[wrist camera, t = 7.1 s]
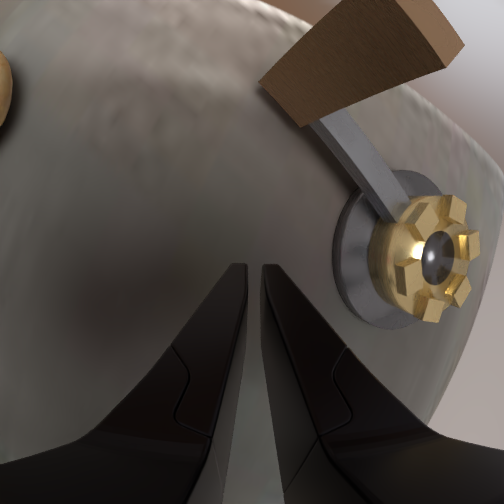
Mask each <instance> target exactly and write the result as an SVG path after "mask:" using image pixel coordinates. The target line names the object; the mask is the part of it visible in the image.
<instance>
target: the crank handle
mask: <svg viewBox="0 0 504 504" xmlns="http://www.w3.org/2000/svg"><path fill="white" fill-rule="evenodd" d="M464 46H465V45H464V43H463V42H462V40H461V39H460V37H459V36H458V34H457V33H456V31H455V30H454V29H453V27H452V26H451V24H450V23H449V22H448V20H447V19H446V17H445V16H444V15H443V13H442V12H441V11H440V9H439V8H438V7H437V5H436V4H435V3H434V2H433V1H432V0H342V1H341V2H340V3H339V4H338V5H336V6H335V7H334V8H333V9H332V10H331V11H330V12H329V13H328V14H326V15H325V16H324V17H323V18H322V19H321V20H320V21H319V22H318V23H317V24H316V25H314V26H313V27H312V28H311V29H310V30H309V31H308V32H307V33H306V34H305V35H304V36H303V37H302V38H301V39H300V40H299V41H298V42H297V43H296V44H295V45H294V46H293V47H292V48H291V49H290V50H289V51H288V52H287V53H286V54H285V55H284V56H283V57H282V58H281V59H280V60H279V61H278V62H277V63H276V64H275V65H274V66H273V67H272V68H271V69H270V70H269V71H268V72H267V73H266V74H265V75H264V76H263V78H262V79H261V80H260V81H259V83H260V84H261V85H262V87H263V88H264V89H265V90H266V91H267V92H268V93H269V94H270V95H271V96H272V97H273V98H274V99H275V100H276V101H277V102H278V104H279V105H280V106H281V107H282V108H283V109H284V110H285V111H286V112H287V113H288V115H289V116H290V117H291V118H292V119H293V120H294V121H295V122H296V124H297V125H298V126H299V127H300V128H301V127H304V126H306V125H308V124H309V125H310V126H311V128H312V129H313V130H314V131H315V132H316V134H317V135H318V136H319V137H320V138H321V139H322V141H323V142H324V143H325V144H326V146H327V147H328V148H329V149H330V150H331V152H332V153H333V154H334V155H335V157H336V158H337V159H338V160H339V162H340V163H341V164H342V166H343V167H344V168H345V169H346V171H347V172H348V173H349V175H350V176H351V177H352V178H353V180H354V181H355V182H356V184H357V185H358V186H359V188H360V189H361V190H362V192H363V193H364V195H365V196H366V197H367V199H368V200H369V201H370V203H371V204H372V206H373V207H374V208H375V210H376V211H377V213H378V214H379V215H380V217H379V219H378V221H377V223H376V225H375V228H374V230H373V233H372V236H371V240H370V245H369V254H368V265H369V273H370V278H371V281H372V284H373V287H374V289H375V291H376V292H377V294H378V295H379V297H380V298H381V299H382V300H383V301H385V302H386V303H387V304H389V305H391V306H393V307H396V308H398V309H400V310H403V311H405V312H407V313H410V314H412V315H413V317H416V318H418V319H420V320H423V321H430V322H436V323H438V322H439V319H440V316H441V313H442V311H444V310H445V309H446V308H447V307H448V306H449V305H450V304H451V305H453V306H455V307H458V308H460V307H461V305H462V304H463V302H464V301H465V299H466V297H467V296H468V294H469V292H470V291H471V289H472V288H471V286H470V283H469V281H468V279H467V276H466V274H467V270H468V265H469V261H471V260H472V259H474V258H476V257H477V256H479V255H480V246H479V231H477V230H468V226H467V222H466V220H465V213H466V207H467V204H466V203H464V202H463V201H461V200H460V199H458V198H457V197H455V196H454V195H443V196H407V195H406V193H405V192H404V190H403V188H402V187H401V185H400V184H399V182H398V181H397V179H396V178H395V176H394V175H393V173H392V172H391V170H390V169H389V167H388V166H387V164H386V163H385V161H384V160H383V159H382V157H381V156H380V154H379V153H378V152H377V150H376V149H375V147H374V146H373V145H372V143H371V142H370V140H369V139H368V138H367V136H366V135H365V134H364V132H363V131H362V130H361V128H360V127H359V126H358V125H357V123H356V122H355V121H354V119H353V118H352V117H351V116H350V114H349V113H348V112H347V111H346V109H345V107H347V106H350V105H352V104H354V103H356V102H359V101H361V100H363V99H366V98H368V97H371V96H373V95H375V94H378V93H380V92H383V91H385V90H388V89H390V88H393V87H395V86H398V85H400V84H403V83H406V82H408V81H411V80H414V79H416V78H419V77H421V76H424V75H427V74H430V73H432V72H435V71H438V70H441V69H444V68H446V67H447V66H448V65H449V64H450V63H451V61H452V60H453V59H454V58H455V57H456V55H457V54H458V53H459V52H460V51H461V49H462V48H463V47H464Z"/></svg>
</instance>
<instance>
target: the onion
mask: <svg viewBox="0 0 504 504" xmlns="http://www.w3.org/2000/svg"><path fill="white" fill-rule="evenodd" d="M12 86H13V80H12V74H11V69H10V65H9V63H8V61H7V59H6V57H5V56H4V55H3V53H2V52H1V51H0V126H1V125H3V122H4V121H5V117H6V115H7V112H8V109H9V107H10V104H11V103H10V102H11V96H12Z"/></svg>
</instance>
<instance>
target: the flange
mask: <svg viewBox="0 0 504 504" xmlns="http://www.w3.org/2000/svg"><path fill="white" fill-rule="evenodd" d="M391 172H392V173H393V175H394V176H395V178H396V179H397V181H398V182H399V184H400V185H401V187H402V188H403V190H404V192H405V193H406V195H407V196H443V194H442V193H441V191H440V190H439V189H438V187H437V186H436V185H435V184H434V183H433V182H432V181H431V180H430V179H428V178H427V177H425V176H424V175H422V174H420V173H417V172H414V171H407V170H400V171H391ZM379 217H380V215H379V214H378V213H377V211H376V210H375V208H374V207H373V206H372V204H371V203H370V201H369V200H368V199H367V197H366V196H365V195H364V193H363V192H362V190H361V189H360V188H359V187H358V188H357V189H356V190H355V191H354V193H353V194H352V195H351V197H350V198H349V200H348V201H347V203H346V205H345V206H344V208H343V211H342V213H341V215H340V217H339V221H338V224H337V227H336V231H335V236H334V241H333V251H332V261H333V272H334V277H335V281H336V285H337V288H338V291H339V293H340V295H341V297H342V299H343V301H344V303H345V304H346V305H347V307H348V308H349V309H350V310H351V311H352V312H353V313H354V314H355V315H356V316H358V317H359V318H361V319H363V320H364V321H366V322H368V323H370V324H372V325H374V326H376V327H379V328H383V329H399V328H403V327H406V326H408V325H410V324H412V323H414V322H416V321H417V320H419V319H418V318H416V317H413V315H412V314H410V313H407V312H405V311H403V310H400V309H398V308H396V307H393V306H391V305H389V304H387V303H386V302H385V301H383V300H382V299H381V298H380V297H379V295H378V294H377V292H376V291H375V289H374V287H373V284H372V281H371V278H370V273H369V265H368V254H369V245H370V240H371V236H372V233H373V230H374V228H375V225H376V223H377V221H378V219H379Z"/></svg>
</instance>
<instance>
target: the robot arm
mask: <svg viewBox="0 0 504 504" xmlns="http://www.w3.org/2000/svg"><path fill="white" fill-rule="evenodd" d="M247 307H248V265H247V264H245V263H232V264H231V265H230V266H229V267H228V269H227V270H226V271H225V273H224V274H223V275H222V277H221V278H220V279H219V281H218V282H217V283H216V285H215V286H214V287H213V289H212V290H211V291H210V293H209V294H208V295H207V297H206V298H205V299H204V300H203V302H202V303H201V304H200V306H199V307H198V308H197V310H196V311H195V312H194V314H193V315H192V316H191V318H190V319H189V320H188V322H187V323H186V324H185V326H184V327H183V328H182V330H181V331H180V332H179V334H178V335H177V336H176V338H175V339H174V340H173V342H172V343H171V346H169V347H168V348H167V349H166V351H165V352H164V353H163V355H162V356H161V358H160V359H159V360H158V361H157V362H156V364H155V365H154V366H153V367H152V369H151V370H150V371H149V372H148V374H147V375H146V376H145V377H144V378H143V379H142V380H141V381H140V382H139V383H138V384H137V385H136V386H135V388H134V389H133V390H132V391H131V392H130V393H129V394H128V395H127V396H126V397H125V398H124V399H123V400H122V401H121V402H120V403H119V404H118V405H117V406H116V407H115V408H114V409H113V410H112V411H111V412H110V413H109V414H108V415H107V416H106V417H105V418H104V419H103V420H102V421H101V422H100V423H99V424H98V425H97V426H96V427H95V428H94V429H93V430H91V431H90V432H89V433H88V434H86V435H85V436H83V437H81V438H80V439H78V440H76V441H74V442H72V443H69V444H66V445H63V446H60V447H57V448H54V449H51V450H48V451H45V452H42V453H38V454H35V455H32V456H29V457H25V458H22V459H18V460H15V461H11V462H7V463H4V464H0V504H222V501H223V493H224V488H225V481H226V475H227V469H228V462H229V456H230V449H231V443H232V436H233V430H234V423H235V417H236V410H237V403H238V397H239V390H240V384H241V377H242V370H243V363H244V357H245V349H246V332H247ZM260 320H261V349H262V357H263V363H264V370H265V377H266V383H267V390H268V397H269V403H270V410H271V416H272V423H273V430H274V436H275V443H276V449H277V456H278V462H279V469H280V475H281V482H282V488H283V493H284V501H285V504H504V450H500V449H495V448H490V447H485V446H481V445H477V444H473V443H468V442H464V441H460V440H457V439H453V438H449V437H446V436H444V435H441V434H439V433H437V432H436V431H434V430H432V429H431V428H429V427H428V426H427V425H425V424H424V423H423V422H422V421H421V420H420V419H419V418H418V417H416V416H415V415H414V414H413V413H412V412H411V411H410V410H409V409H408V408H407V407H406V406H405V405H404V404H403V403H402V402H401V401H399V400H398V399H397V398H396V397H395V396H394V395H393V394H392V393H391V392H390V391H389V390H388V389H387V388H386V387H385V386H384V385H383V384H382V383H381V382H380V381H379V380H378V379H377V378H376V377H375V376H374V375H373V374H372V373H371V372H370V371H369V370H368V369H367V368H366V367H365V365H364V364H363V363H362V362H361V361H360V360H359V359H358V358H357V356H356V355H355V354H354V353H353V352H352V350H351V349H350V348H347V345H346V343H345V342H344V341H343V340H342V339H341V338H340V336H339V335H338V334H337V333H336V332H335V330H334V329H333V328H332V327H331V326H330V324H329V323H328V322H327V321H326V320H325V319H324V317H323V316H322V315H321V314H320V313H319V311H318V310H317V309H316V308H315V307H314V306H313V304H312V303H311V302H310V301H309V300H308V298H307V297H306V296H305V295H304V294H303V293H302V291H301V290H300V289H299V288H298V287H297V286H296V284H295V283H294V282H293V281H292V280H291V278H290V277H289V276H288V275H287V274H286V273H285V271H284V270H283V269H282V268H281V267H280V266H279V265H278V264H264V265H263V266H262V274H261V287H260Z"/></svg>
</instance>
